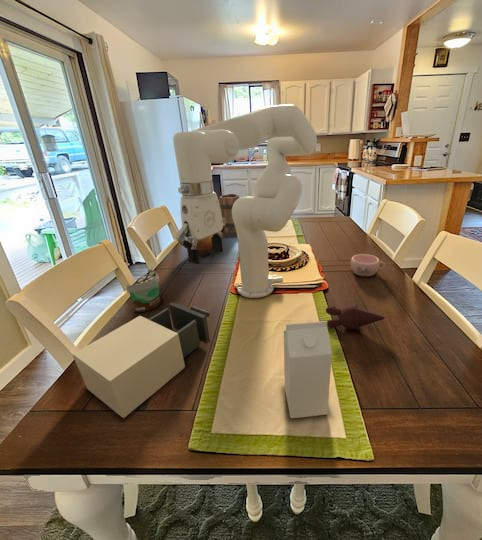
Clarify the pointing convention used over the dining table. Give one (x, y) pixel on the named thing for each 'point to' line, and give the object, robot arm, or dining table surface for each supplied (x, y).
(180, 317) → the drawer
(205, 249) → the butternut squash
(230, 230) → the tankard
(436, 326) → the dining table surface
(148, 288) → the food container
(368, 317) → the icecream
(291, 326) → the milk carton
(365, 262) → the mug
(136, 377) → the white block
